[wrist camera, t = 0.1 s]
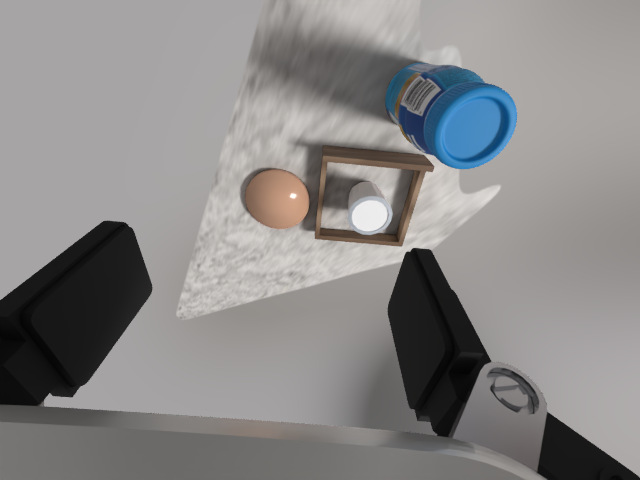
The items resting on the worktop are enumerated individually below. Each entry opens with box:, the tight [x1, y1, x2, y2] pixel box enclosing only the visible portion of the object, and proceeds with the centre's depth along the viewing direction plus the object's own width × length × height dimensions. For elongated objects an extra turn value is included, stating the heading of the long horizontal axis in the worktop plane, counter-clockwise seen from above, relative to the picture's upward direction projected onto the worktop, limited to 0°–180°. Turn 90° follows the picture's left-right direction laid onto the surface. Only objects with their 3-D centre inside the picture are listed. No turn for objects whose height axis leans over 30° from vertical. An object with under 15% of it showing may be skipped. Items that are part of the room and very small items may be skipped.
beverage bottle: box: [385, 63, 517, 169], centre depth 31 cm, size 8×8×20 cm
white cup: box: [347, 181, 393, 235], centre depth 46 cm, size 7×7×7 cm
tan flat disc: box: [245, 169, 309, 229], centre depth 49 cm, size 11×11×1 cm
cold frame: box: [315, 145, 434, 246], centre depth 46 cm, size 16×16×5 cm
